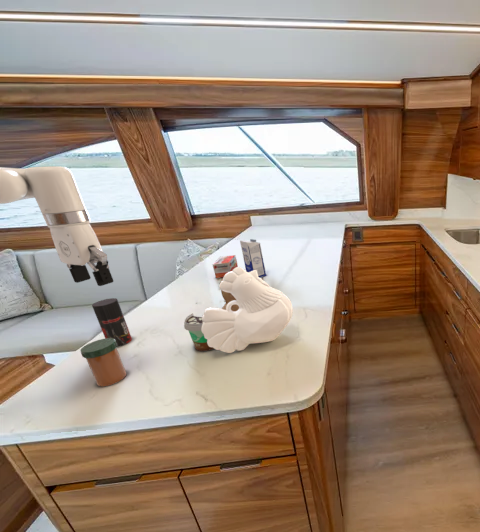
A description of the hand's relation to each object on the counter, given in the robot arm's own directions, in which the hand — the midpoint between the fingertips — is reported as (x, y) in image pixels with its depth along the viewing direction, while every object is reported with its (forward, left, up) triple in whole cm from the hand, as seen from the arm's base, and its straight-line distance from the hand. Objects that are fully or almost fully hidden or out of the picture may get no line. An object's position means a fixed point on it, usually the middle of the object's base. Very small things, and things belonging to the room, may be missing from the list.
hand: (94, 282), depth 79 cm
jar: (-2, -6, -26) cm, 27 cm away
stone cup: (+33, +18, -27) cm, 46 cm away
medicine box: (+35, +73, -27) cm, 85 cm away
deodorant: (-3, +17, -27) cm, 32 cm away
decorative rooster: (+34, -10, -27) cm, 44 cm away
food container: (+20, -4, -27) cm, 33 cm away
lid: (-2, -6, -16) cm, 17 cm away
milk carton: (+47, +57, -27) cm, 78 cm away
